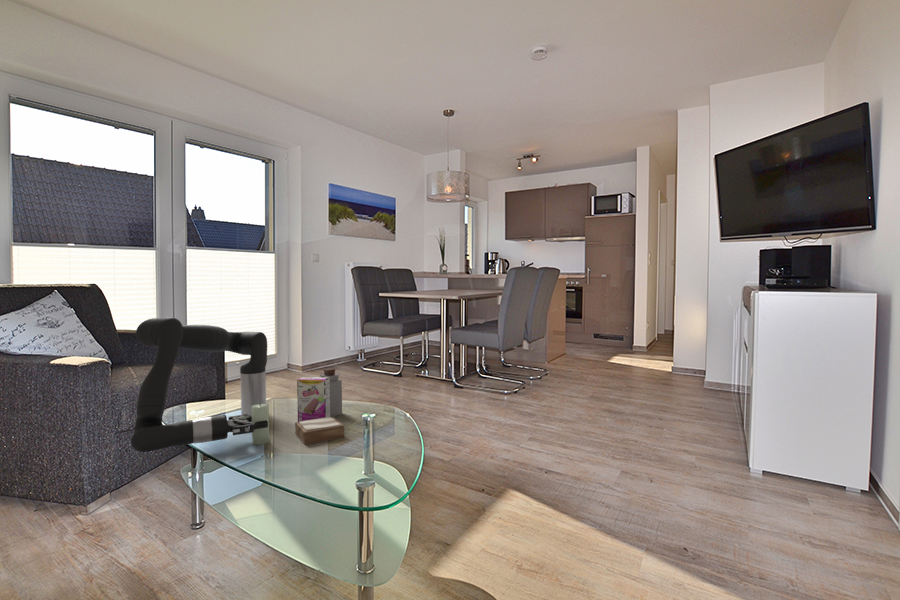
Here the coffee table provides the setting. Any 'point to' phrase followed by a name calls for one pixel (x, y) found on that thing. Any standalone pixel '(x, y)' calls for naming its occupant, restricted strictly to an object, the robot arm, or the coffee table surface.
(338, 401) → the perfume bottle
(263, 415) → the pillar candle
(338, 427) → the walnut plinth
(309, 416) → the candy bar box
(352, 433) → the coffee table surface
